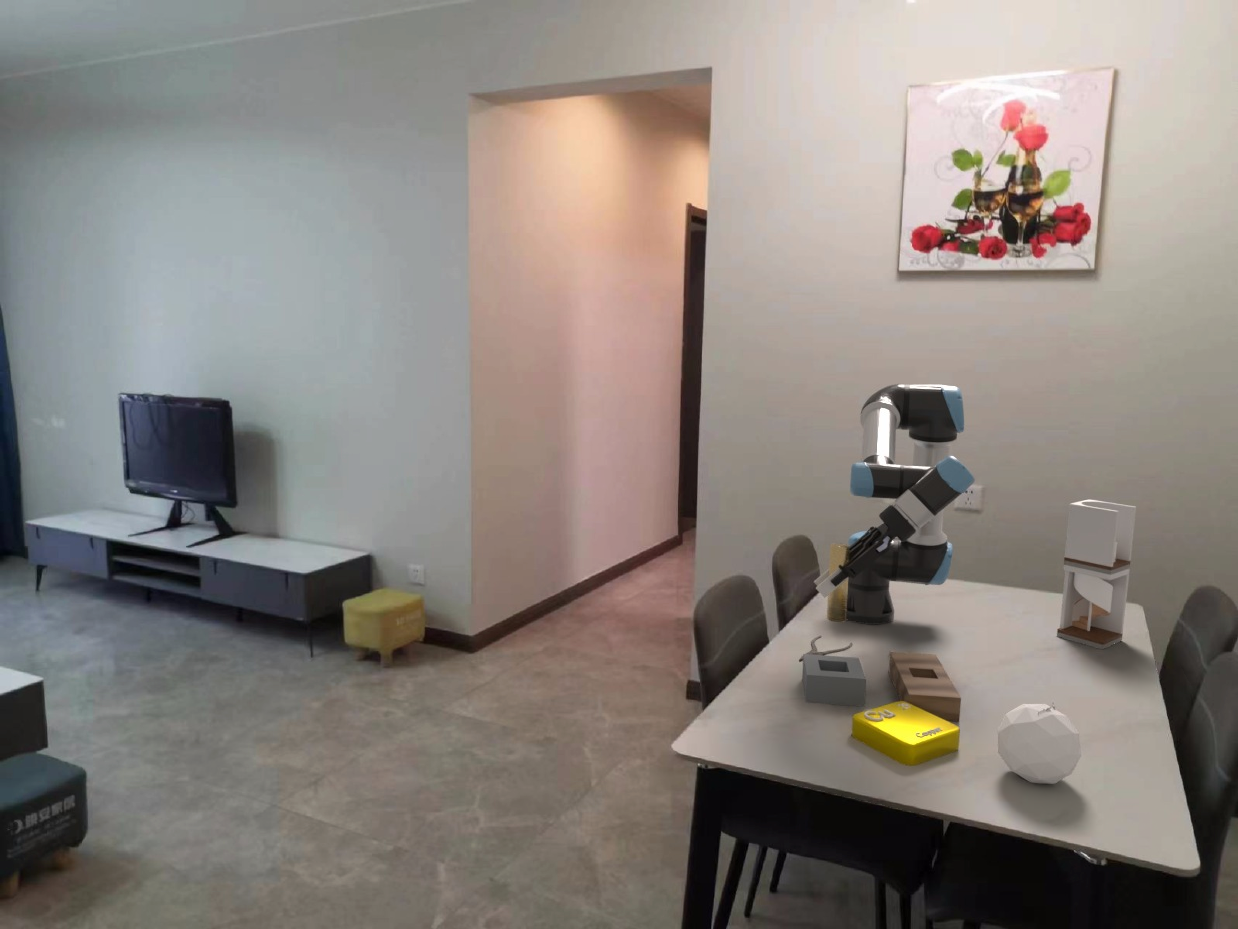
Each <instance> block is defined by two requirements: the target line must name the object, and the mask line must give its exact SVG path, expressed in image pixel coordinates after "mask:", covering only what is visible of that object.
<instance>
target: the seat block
mask: <svg viewBox="0 0 1238 929" xmlns="http://www.w3.org/2000/svg"><path fill="white" fill-rule="evenodd" d="M802 656H803V661H802V671H801V672H802V673H801V681H802V682H801V683H802V689H803V695H804V700H805V703H813V704H815V703H816V704H827V705H828V704H829V705H840V706H841V705H842V706H855V707H856V706H857V707H865V701H866V687H867V686H866V683H867V682H866V681H867V678H866V675H865V672H864V670H863V666H862V663H861V660H860V658H859V657H854V656H853V657H852V656H851V657H850V656H837V655H809V654H806V653H805V654H804V653H803V654H802Z"/></svg>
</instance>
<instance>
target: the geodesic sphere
mask: <svg viewBox="0 0 1238 929" xmlns="http://www.w3.org/2000/svg"><path fill="white" fill-rule="evenodd" d="M1054 704H1055V703H1054V702H1051V706H1050V705H1048V704H1046V703H1022V704H1021V705H1019V706H1017V707H1015V708H1013V709H1011V710H1010V711H1008V712H1006V713H1005V715H1004V717H1003V719H1002V721H1001V724H1000V725H999V727H998V730H997V753H998V754H999V756H1000V757H1001V759H1002V760H1003V762H1005V763H1004V764H1006V766H1007V767H1008V768H1009V770H1010V771H1011V772H1013V773H1015V774H1016V775H1018V776H1020V777H1021V778H1023V779H1024V780H1026V781H1027V782H1029V783H1031V784H1045V785H1046V784H1049V785H1055V784H1057V783H1058V782H1060V781H1061V780H1063V779H1065V778H1067V777H1069V776H1071V775H1072V774H1073V773H1074V770H1075V768H1076V767H1077V765H1078V763H1079V761H1080V760H1081V757H1082V752H1081V751H1082V749H1081V740H1080V733H1079V731H1078V730H1077V728H1076V727H1075V726H1074V724H1073V722H1072V721H1071V720H1070V718H1069V717H1068V716H1067V715H1066V714H1063V713H1062V712H1060V711H1058V710H1057V708H1056V707H1057V706H1056V705H1054Z"/></svg>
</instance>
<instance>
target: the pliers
mask: <svg viewBox="0 0 1238 929" xmlns="http://www.w3.org/2000/svg"><path fill="white" fill-rule="evenodd" d="M821 638H822V635H818V636H815V637H813V639H812V640H811V641H810V645H811V646H810V647H811V650H810V651H808V652H806V653H805V654H809V655H824V656H827V655H829V654H834V653H839V652H843V651H846V650H849V649H850V648H851V647H853V644H854V643H853V642H850V644H849V645H847V646H846V647H842V648H837V649H836V648H835V649H830V650H825V651H818V649H817V647H816V644H815V642H816V641H817V640H818V639H821ZM798 661H799V663H800V662H803V655H801V657H799V660H798Z"/></svg>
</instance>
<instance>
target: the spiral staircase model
mask: <svg viewBox="0 0 1238 929" xmlns="http://www.w3.org/2000/svg"><path fill="white" fill-rule="evenodd" d="M1136 513H1137V506H1134V505H1126V504H1121V503H1115V502H1107V501H1101V500H1097V499H1086V500H1084V499H1083V500H1080V501H1075V502H1072V503H1069V508H1068V517H1067V528H1066V538H1065V546H1064V547H1065V548H1064V556H1063V557H1064V558H1063V568H1062V570H1063V571H1064V580H1063V589H1062V591H1063V592H1062V603H1061V609H1060V610H1061V612H1060V624H1059V628H1057V631H1056V637H1058V638H1060V637H1062V638H1061V639H1063V640H1067V641H1071V640H1072V642H1074V641H1075V642H1076V643H1078V644H1081V643H1084V644H1083V645H1085V644H1086V646H1089V647H1093V648H1096V647H1097V649H1099V648H1100V650H1105V649H1107V648H1109V647H1111V645H1112V646H1114V645H1115V644H1114V643H1116V644H1118V643H1120V641H1121V640H1122V641H1123V634H1124V633H1123V632H1124V625H1125V615H1126V607H1127V606H1126V605H1127V595H1128V588H1129V579H1130V569H1131V561H1132V552H1133V551H1132V550H1133V541H1134V533H1135V522H1136V515H1137V514H1136ZM1122 641H1121V642H1122ZM1075 642H1074V643H1075ZM1113 644H1114V645H1113ZM1106 647H1107V648H1106ZM1104 648H1105V649H1104Z"/></svg>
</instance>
